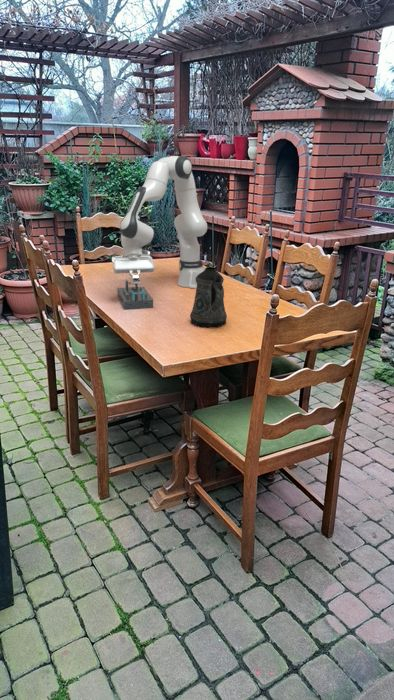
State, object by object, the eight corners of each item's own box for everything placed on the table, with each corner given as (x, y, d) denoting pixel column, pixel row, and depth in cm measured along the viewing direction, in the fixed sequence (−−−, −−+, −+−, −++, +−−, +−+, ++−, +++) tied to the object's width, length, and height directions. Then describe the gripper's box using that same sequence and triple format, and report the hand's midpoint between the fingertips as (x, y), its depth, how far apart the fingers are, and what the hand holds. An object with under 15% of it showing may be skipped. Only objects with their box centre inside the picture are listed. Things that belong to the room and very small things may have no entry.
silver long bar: (134, 284, 270) (134, 280, 270) (141, 283, 248) (140, 279, 248) (128, 284, 269) (128, 281, 269) (134, 283, 248) (134, 280, 247)
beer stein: (205, 314, 245) (206, 262, 236) (239, 323, 233) (241, 268, 224) (182, 322, 233) (183, 267, 224) (216, 332, 221) (218, 275, 212)
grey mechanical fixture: (143, 293, 276) (143, 278, 273) (153, 308, 252) (153, 291, 249) (117, 295, 273) (117, 279, 269) (124, 309, 249) (124, 292, 246)
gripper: (111, 252, 252) (114, 276, 247) (152, 251, 258) (156, 275, 252) (110, 259, 258) (113, 283, 253) (151, 258, 263) (155, 281, 258)
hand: (135, 279), depth 253 cm, fingers closed, pressing on silver long bar
